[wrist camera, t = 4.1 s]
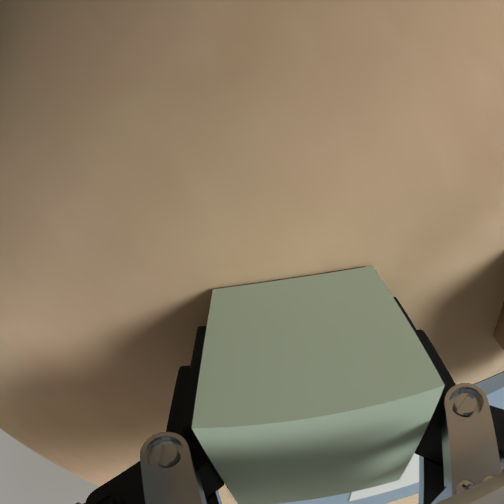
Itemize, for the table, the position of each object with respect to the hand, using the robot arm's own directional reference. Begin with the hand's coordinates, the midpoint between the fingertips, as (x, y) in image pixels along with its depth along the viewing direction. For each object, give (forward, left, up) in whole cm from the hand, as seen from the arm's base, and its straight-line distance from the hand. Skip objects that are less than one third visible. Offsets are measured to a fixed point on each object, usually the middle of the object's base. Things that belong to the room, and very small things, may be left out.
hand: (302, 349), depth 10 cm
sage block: (0, 0, -1) cm, 1 cm away
